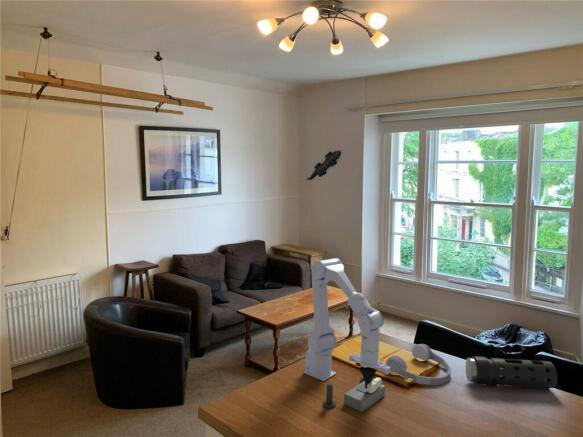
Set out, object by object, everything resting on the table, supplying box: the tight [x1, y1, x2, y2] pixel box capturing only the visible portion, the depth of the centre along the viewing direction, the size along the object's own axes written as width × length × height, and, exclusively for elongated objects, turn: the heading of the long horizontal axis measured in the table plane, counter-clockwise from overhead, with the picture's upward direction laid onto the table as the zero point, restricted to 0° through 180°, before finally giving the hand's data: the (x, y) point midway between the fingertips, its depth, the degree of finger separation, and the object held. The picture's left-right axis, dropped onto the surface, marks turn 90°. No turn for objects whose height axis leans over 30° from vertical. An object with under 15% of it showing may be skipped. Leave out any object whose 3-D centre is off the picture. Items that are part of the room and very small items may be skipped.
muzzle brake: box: [465, 355, 558, 391], centre depth 155 cm, size 10×28×10 cm, turn 84°
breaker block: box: [343, 376, 386, 413], centre depth 145 cm, size 7×14×6 cm, turn 138°
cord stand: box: [322, 383, 336, 410], centre depth 141 cm, size 4×4×7 cm
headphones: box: [385, 343, 452, 386], centre depth 165 cm, size 22×7×20 cm
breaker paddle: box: [367, 380, 376, 393], centre depth 143 cm, size 2×3×2 cm, turn 138°
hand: (368, 387), depth 144 cm, fingers closed
